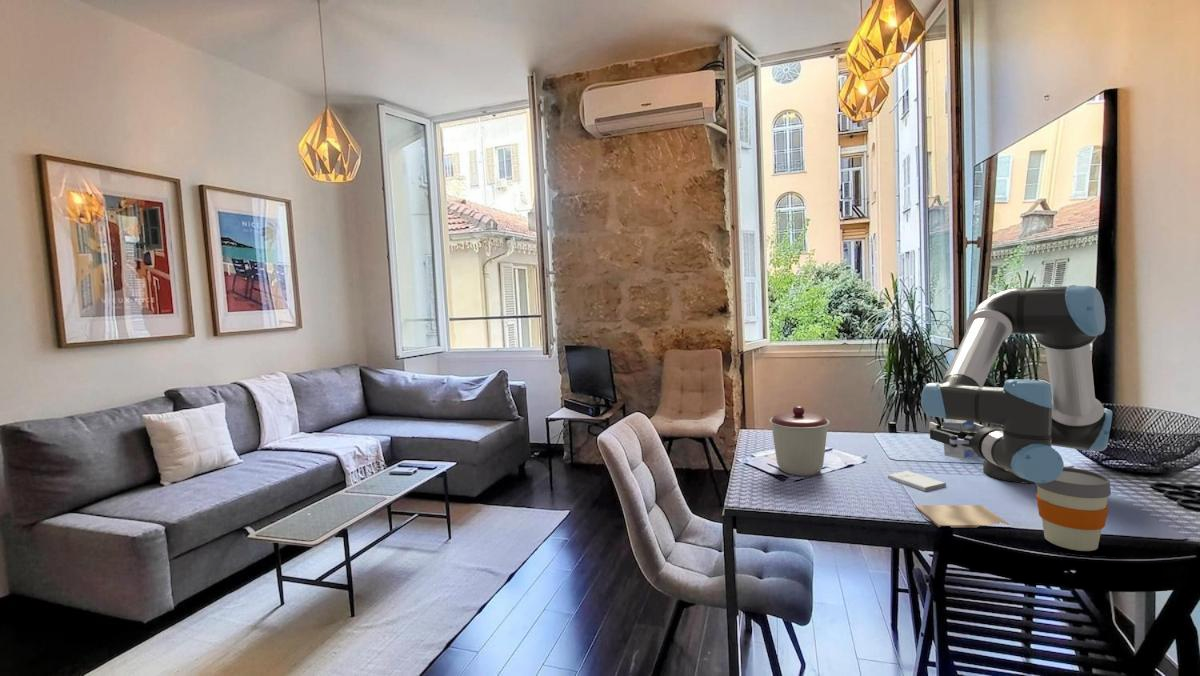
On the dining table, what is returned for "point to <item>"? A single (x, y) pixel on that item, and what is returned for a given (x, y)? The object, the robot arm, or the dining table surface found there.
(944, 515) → the cork mat
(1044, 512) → the reusable coffee cup
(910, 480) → the external hard drive
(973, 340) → the robot arm
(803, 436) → the canister
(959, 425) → the medicine box
